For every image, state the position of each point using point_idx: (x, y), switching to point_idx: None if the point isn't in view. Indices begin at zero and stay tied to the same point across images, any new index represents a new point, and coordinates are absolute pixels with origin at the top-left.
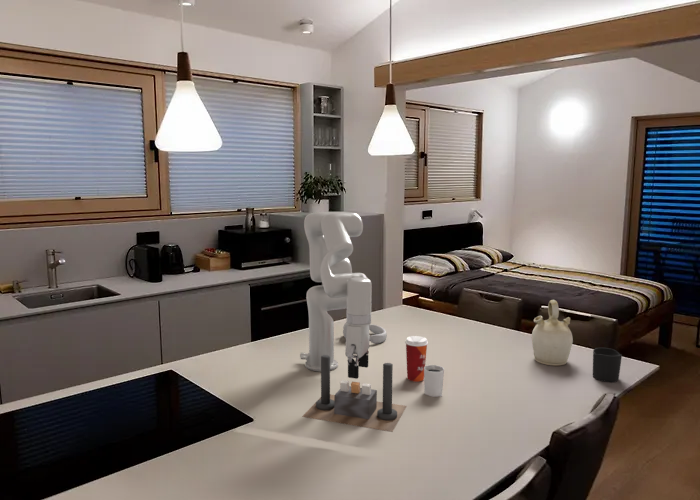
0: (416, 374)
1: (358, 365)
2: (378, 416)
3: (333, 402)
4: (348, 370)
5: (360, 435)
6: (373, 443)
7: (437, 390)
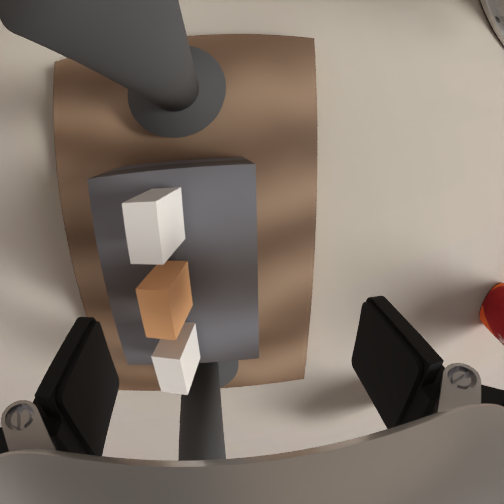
0: (491, 324)
1: (366, 303)
2: None
3: (193, 124)
4: (60, 357)
5: (68, 303)
6: (57, 346)
7: None
